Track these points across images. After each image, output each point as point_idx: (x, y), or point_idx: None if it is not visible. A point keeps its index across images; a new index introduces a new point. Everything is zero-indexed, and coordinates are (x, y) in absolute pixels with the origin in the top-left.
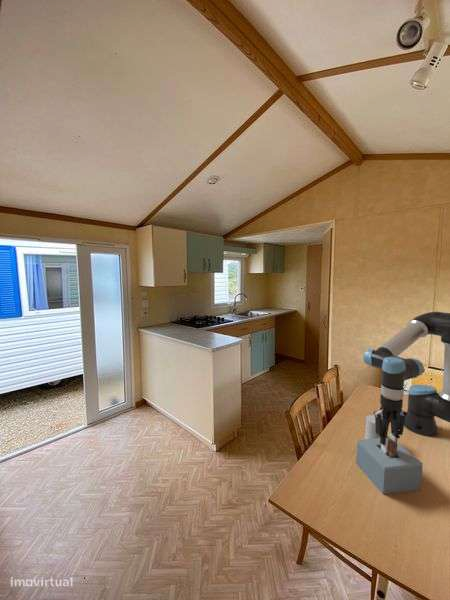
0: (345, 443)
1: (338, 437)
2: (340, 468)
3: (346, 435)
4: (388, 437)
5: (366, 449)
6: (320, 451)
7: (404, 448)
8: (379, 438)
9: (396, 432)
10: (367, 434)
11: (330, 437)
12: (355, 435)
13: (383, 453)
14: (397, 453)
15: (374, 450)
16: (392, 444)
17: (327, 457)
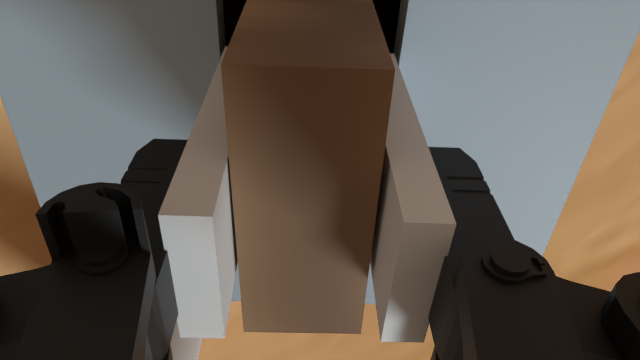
0: (365, 305)
1: (369, 348)
2: (615, 125)
3: (302, 354)
4: (263, 268)
5: (577, 172)
6: (596, 273)
7: (4, 102)
8: (233, 296)
9: (95, 357)
10: (198, 348)
11: (421, 353)
12: (241, 348)
13: (424, 64)
14: (197, 25)
15: (493, 139)
16: (377, 66)
17: (602, 225)
